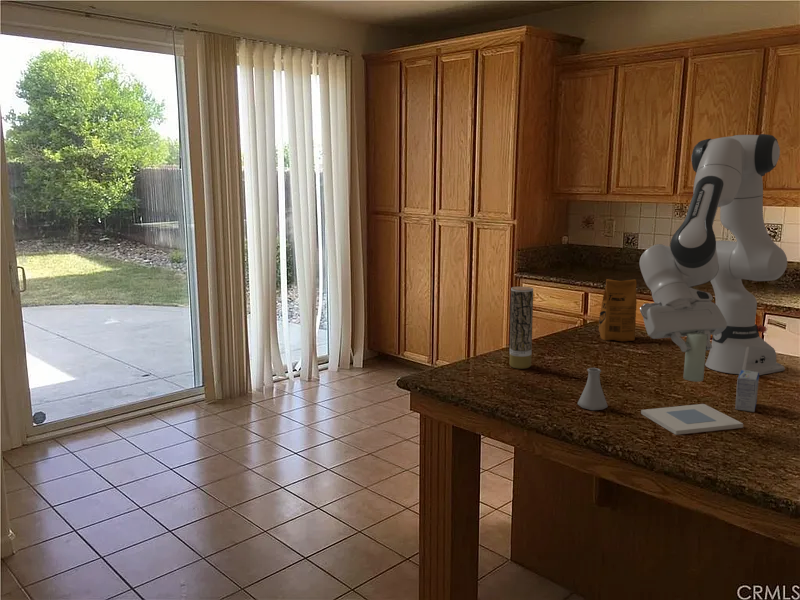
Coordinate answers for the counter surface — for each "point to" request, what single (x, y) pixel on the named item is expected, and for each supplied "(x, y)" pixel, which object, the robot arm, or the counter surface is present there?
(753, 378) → the medicine box
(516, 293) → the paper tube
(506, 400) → the counter surface
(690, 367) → the pale green cylinder
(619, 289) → the coffee package
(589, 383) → the flask
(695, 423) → the card
